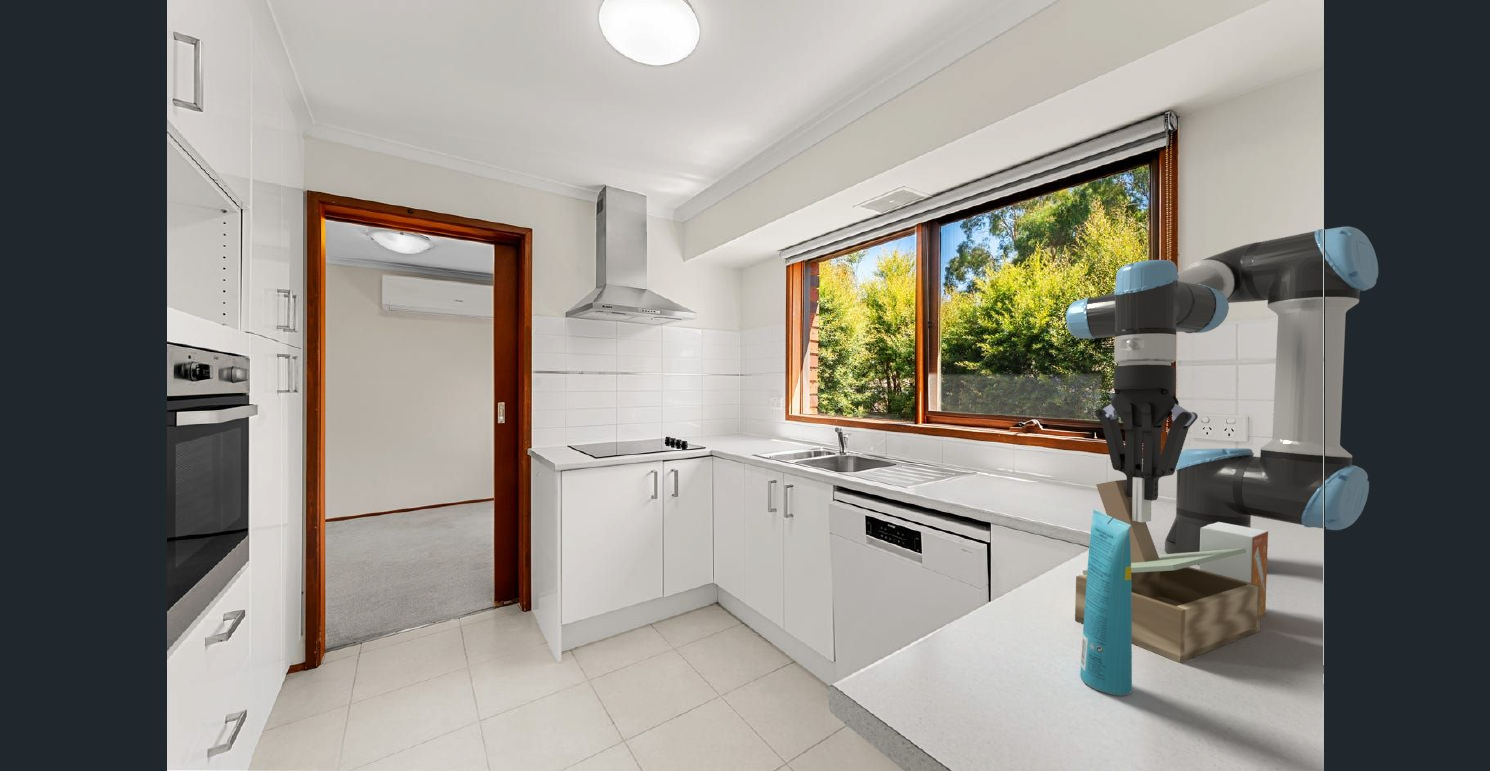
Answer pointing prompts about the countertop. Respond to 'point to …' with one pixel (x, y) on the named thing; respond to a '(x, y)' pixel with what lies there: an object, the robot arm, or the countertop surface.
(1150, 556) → the lid
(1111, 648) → the tube
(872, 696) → the countertop surface
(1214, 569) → the small box
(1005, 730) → the countertop surface
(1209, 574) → the crate
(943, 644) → the countertop surface
